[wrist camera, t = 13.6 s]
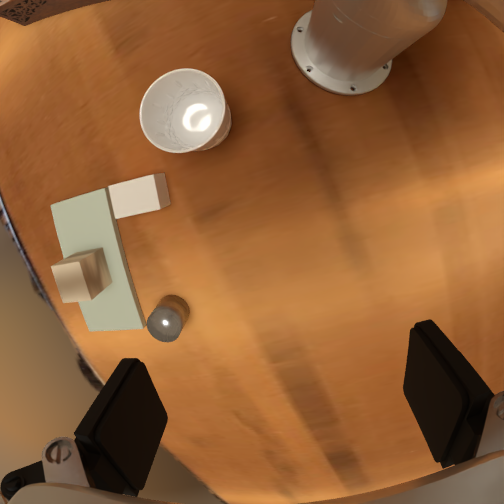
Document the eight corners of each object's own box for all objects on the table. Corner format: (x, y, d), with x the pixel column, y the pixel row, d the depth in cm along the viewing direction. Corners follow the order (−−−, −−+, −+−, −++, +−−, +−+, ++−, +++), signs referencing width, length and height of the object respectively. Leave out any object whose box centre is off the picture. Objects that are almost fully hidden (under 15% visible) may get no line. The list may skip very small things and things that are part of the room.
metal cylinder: (155, 296, 41) (142, 313, 36) (185, 293, 40) (174, 310, 35) (164, 324, 42) (152, 343, 37) (192, 321, 41) (184, 341, 37)
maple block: (75, 252, 38) (50, 266, 32) (102, 247, 38) (79, 261, 32) (85, 285, 39) (63, 302, 34) (112, 282, 39) (91, 300, 33)
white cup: (240, 149, 35) (230, 145, 25) (175, 159, 35) (144, 160, 26) (233, 86, 32) (220, 61, 23) (169, 98, 33) (136, 79, 23)
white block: (123, 183, 36) (108, 186, 33) (164, 172, 36) (153, 174, 32) (129, 213, 38) (115, 219, 34) (171, 204, 37) (160, 209, 33)
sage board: (55, 203, 37) (50, 205, 36) (109, 187, 36) (104, 188, 35) (93, 327, 43) (89, 331, 42) (146, 324, 42) (143, 328, 41)
